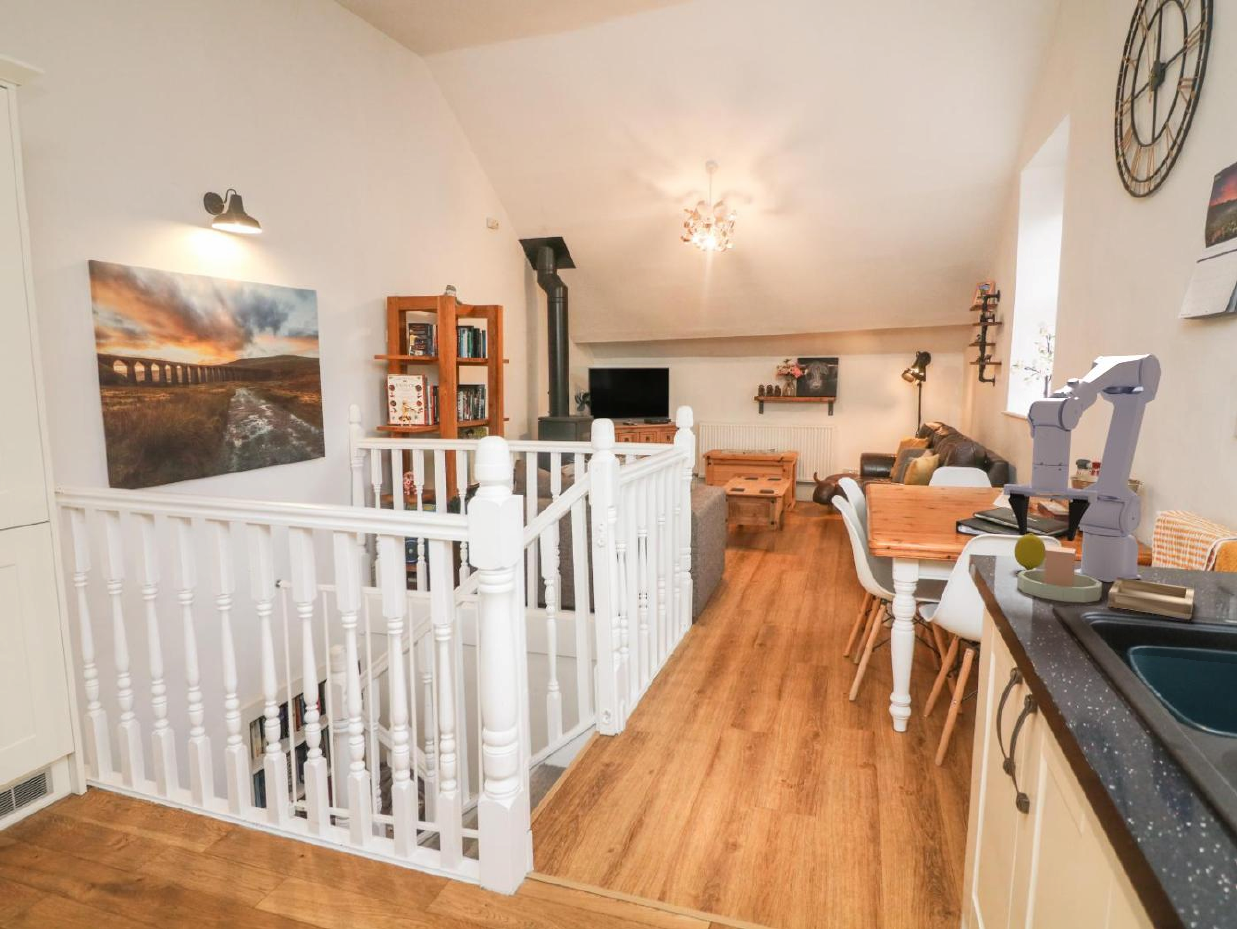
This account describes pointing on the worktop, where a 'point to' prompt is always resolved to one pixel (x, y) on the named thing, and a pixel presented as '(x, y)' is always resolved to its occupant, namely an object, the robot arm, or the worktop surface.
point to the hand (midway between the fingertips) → (1046, 537)
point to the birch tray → (1151, 597)
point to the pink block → (1059, 566)
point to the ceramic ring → (1060, 587)
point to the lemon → (1030, 551)
